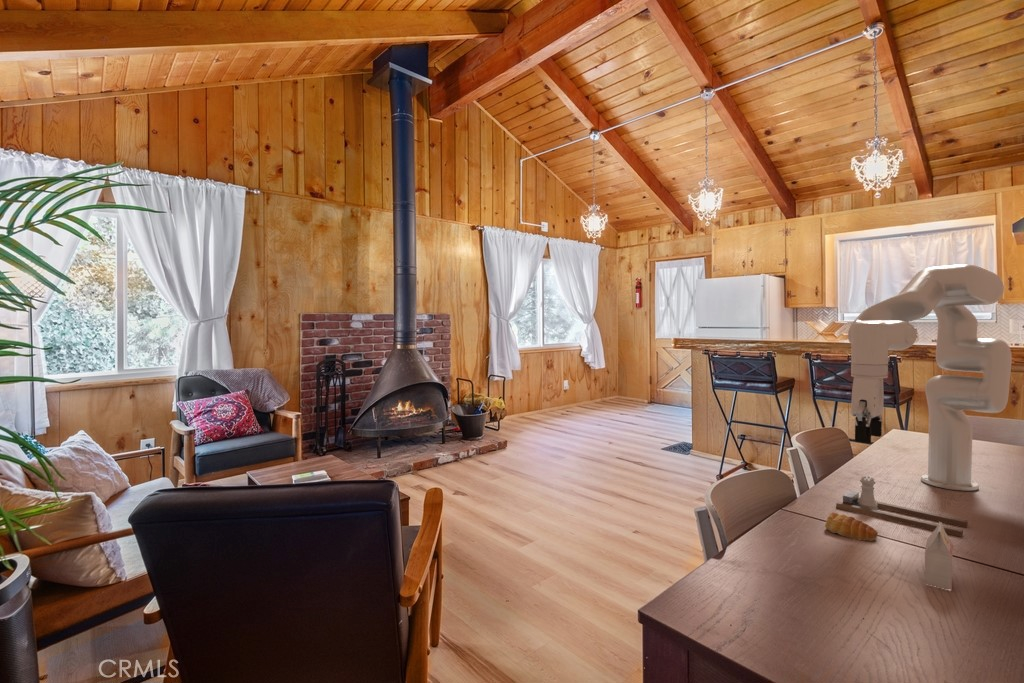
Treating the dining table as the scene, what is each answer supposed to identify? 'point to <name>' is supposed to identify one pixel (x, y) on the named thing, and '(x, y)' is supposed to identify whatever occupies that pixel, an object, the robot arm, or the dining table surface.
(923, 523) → the guide track
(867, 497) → the rook chess piece
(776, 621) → the dining table surface
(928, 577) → the white gable top carton
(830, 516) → the pastry
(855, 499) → the end stop
